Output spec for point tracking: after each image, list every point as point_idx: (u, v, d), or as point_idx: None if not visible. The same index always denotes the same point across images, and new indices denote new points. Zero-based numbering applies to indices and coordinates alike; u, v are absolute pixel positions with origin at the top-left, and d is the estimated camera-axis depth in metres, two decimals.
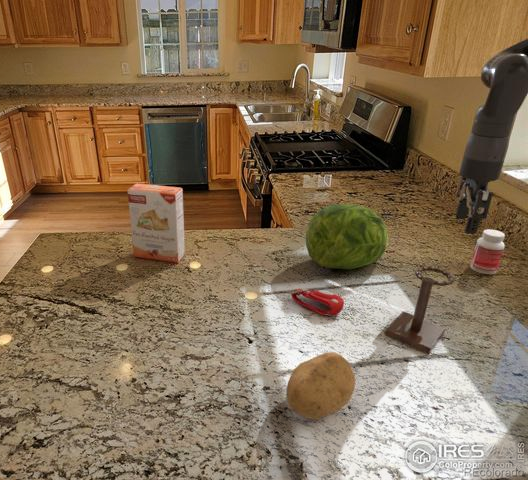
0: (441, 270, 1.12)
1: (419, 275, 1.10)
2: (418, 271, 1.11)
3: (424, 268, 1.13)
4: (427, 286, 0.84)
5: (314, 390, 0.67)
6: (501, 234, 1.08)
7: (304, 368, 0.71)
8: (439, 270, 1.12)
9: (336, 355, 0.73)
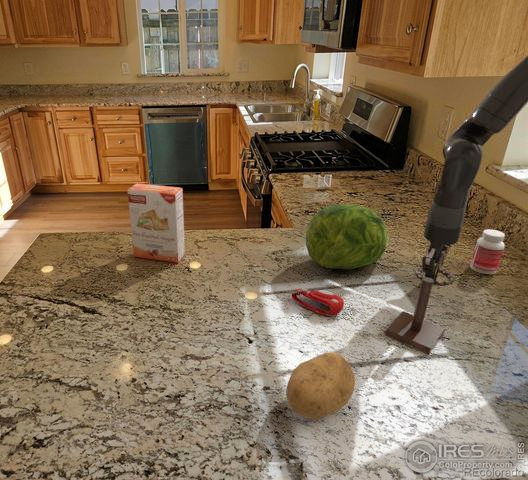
0: (441, 270, 1.12)
1: (419, 275, 1.10)
2: (418, 271, 1.11)
3: None
4: (427, 286, 0.84)
5: (314, 390, 0.67)
6: (501, 234, 1.08)
7: (304, 368, 0.71)
8: (439, 270, 1.12)
9: (336, 355, 0.73)
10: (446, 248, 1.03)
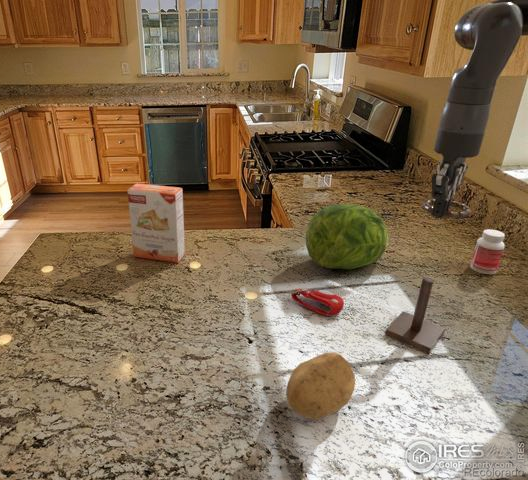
0: (455, 203, 0.89)
1: (427, 206, 0.87)
2: (425, 202, 0.89)
3: (433, 200, 0.90)
4: (427, 286, 0.84)
5: (314, 390, 0.67)
6: (501, 234, 1.08)
7: (304, 368, 0.71)
8: (452, 203, 0.89)
9: (336, 355, 0.73)
10: (463, 166, 0.80)
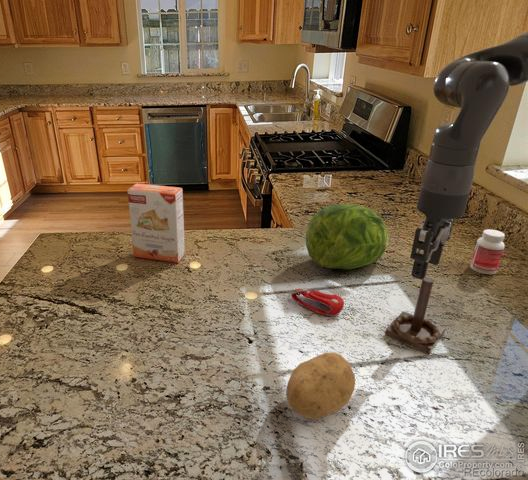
0: (425, 320, 0.90)
1: (396, 328, 0.88)
2: (396, 322, 0.89)
3: (404, 317, 0.91)
4: (427, 286, 0.84)
5: (314, 390, 0.67)
6: (501, 234, 1.08)
7: (304, 368, 0.71)
8: None
9: (336, 355, 0.73)
10: (447, 226, 0.75)
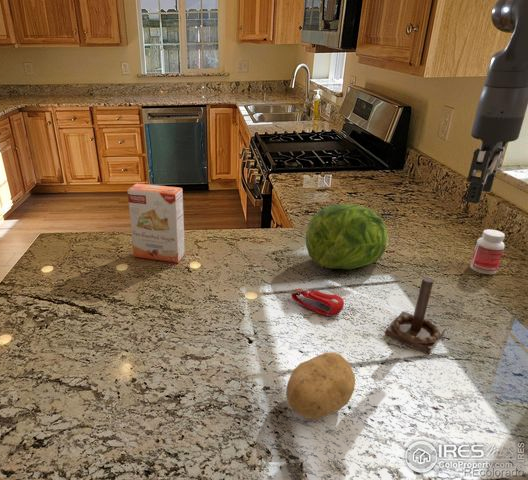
0: (425, 320, 0.90)
1: (396, 328, 0.88)
2: (396, 322, 0.89)
3: (404, 317, 0.91)
4: (427, 286, 0.84)
5: (314, 390, 0.67)
6: (501, 234, 1.08)
7: (304, 368, 0.71)
8: None
9: (336, 355, 0.73)
10: (501, 152, 0.80)
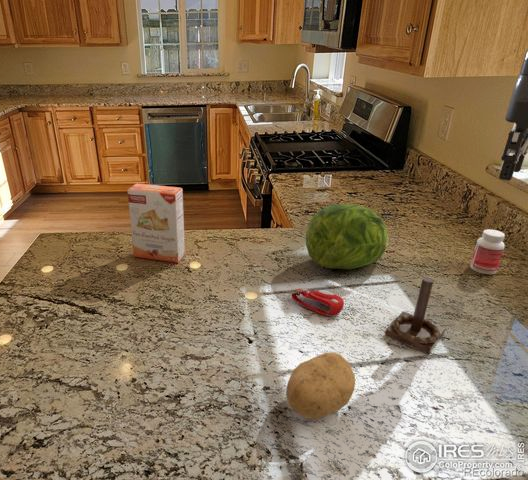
0: (425, 320, 0.90)
1: (396, 328, 0.88)
2: (396, 322, 0.89)
3: (404, 317, 0.91)
4: (427, 286, 0.84)
5: (314, 390, 0.67)
6: (501, 234, 1.08)
7: (304, 369, 0.71)
8: None
9: (336, 355, 0.73)
10: None
